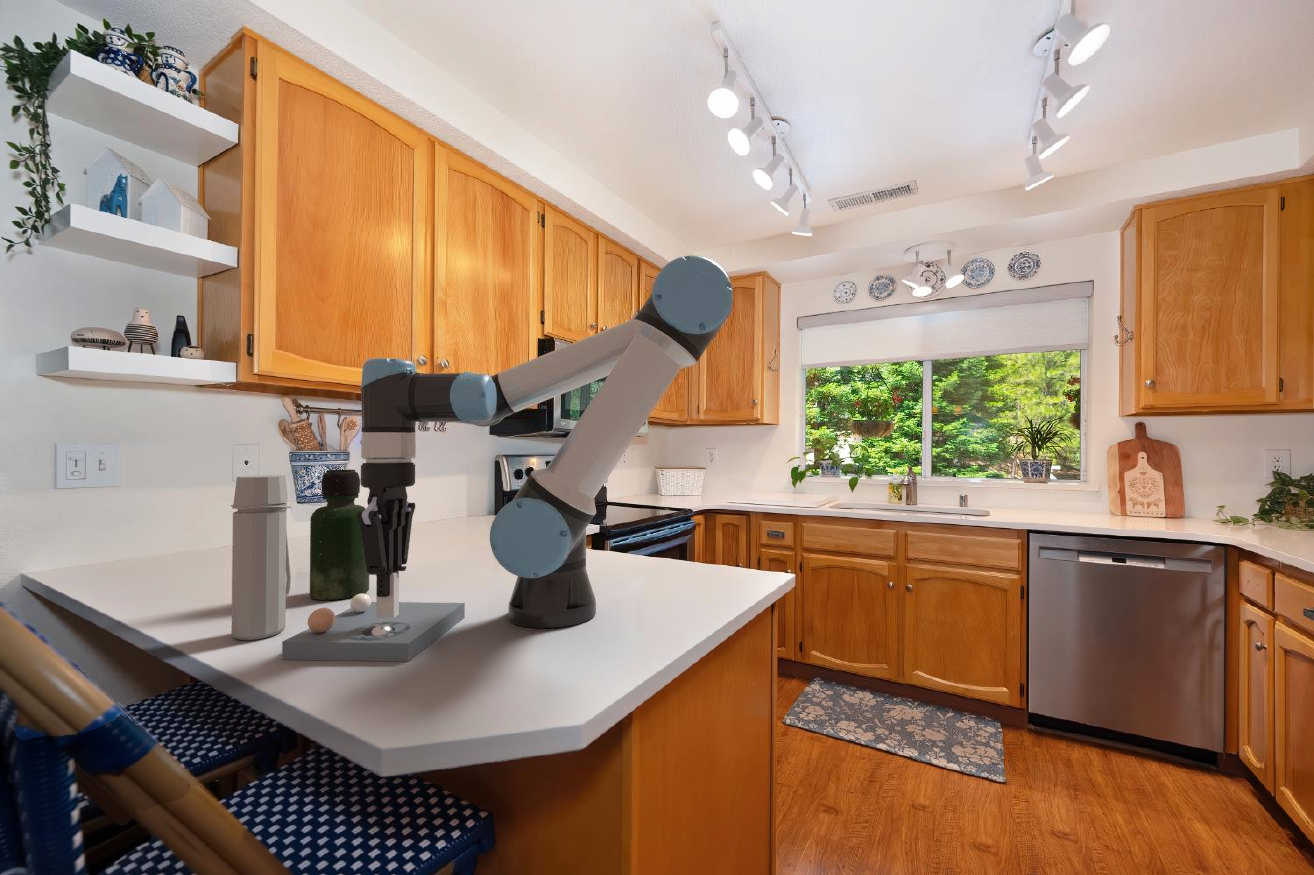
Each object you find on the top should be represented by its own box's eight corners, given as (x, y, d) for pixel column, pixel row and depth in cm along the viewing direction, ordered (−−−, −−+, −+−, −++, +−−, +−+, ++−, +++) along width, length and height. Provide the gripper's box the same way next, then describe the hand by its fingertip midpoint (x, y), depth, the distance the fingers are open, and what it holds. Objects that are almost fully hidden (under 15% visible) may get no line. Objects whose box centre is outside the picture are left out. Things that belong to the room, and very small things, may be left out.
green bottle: (344, 602, 107) (345, 471, 107) (296, 600, 109) (297, 471, 109) (380, 589, 117) (381, 469, 117) (335, 587, 119) (336, 468, 119)
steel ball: (399, 634, 86) (395, 620, 84) (389, 652, 83) (385, 639, 81) (378, 632, 86) (374, 618, 84) (367, 650, 83) (363, 636, 81)
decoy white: (374, 609, 94) (374, 591, 94) (364, 614, 91) (364, 596, 91) (357, 609, 94) (357, 591, 94) (346, 614, 91) (346, 596, 91)
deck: (464, 617, 97) (464, 602, 97) (408, 661, 77) (408, 643, 77) (363, 616, 98) (363, 601, 98) (282, 659, 78) (282, 641, 78)
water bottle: (259, 643, 84) (261, 477, 85) (216, 640, 86) (218, 477, 86) (308, 624, 93) (310, 474, 94) (269, 622, 95) (270, 474, 95)
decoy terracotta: (340, 628, 84) (340, 605, 84) (325, 636, 80) (325, 611, 80) (317, 628, 84) (317, 604, 84) (301, 636, 80) (302, 611, 81)
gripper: (387, 460, 92) (386, 603, 92) (338, 462, 79) (337, 629, 79) (431, 460, 92) (430, 604, 92) (390, 462, 79) (389, 630, 79)
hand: (387, 616), depth 85 cm, fingers closed
